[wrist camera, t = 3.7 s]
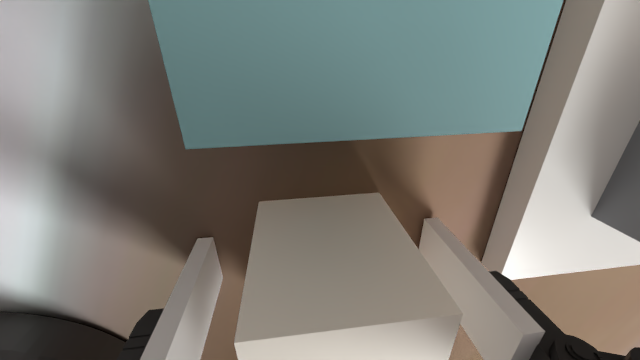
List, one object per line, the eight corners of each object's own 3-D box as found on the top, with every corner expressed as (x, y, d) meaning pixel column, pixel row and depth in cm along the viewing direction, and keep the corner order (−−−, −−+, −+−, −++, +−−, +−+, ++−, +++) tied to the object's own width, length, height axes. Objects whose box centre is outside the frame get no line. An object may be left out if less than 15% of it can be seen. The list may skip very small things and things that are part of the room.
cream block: (270, 290, 15) (261, 453, 9) (258, 201, 13) (233, 343, 6) (370, 279, 16) (427, 425, 10) (378, 192, 13) (463, 313, 7)
